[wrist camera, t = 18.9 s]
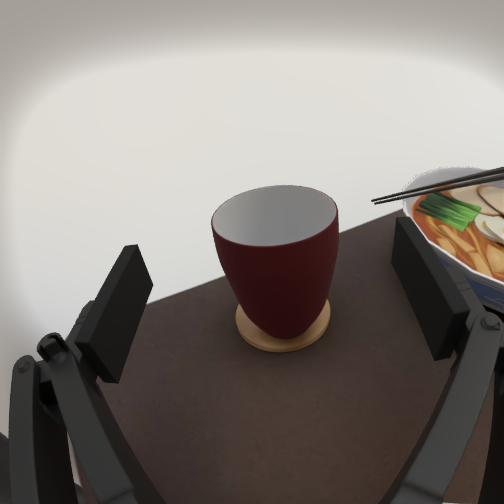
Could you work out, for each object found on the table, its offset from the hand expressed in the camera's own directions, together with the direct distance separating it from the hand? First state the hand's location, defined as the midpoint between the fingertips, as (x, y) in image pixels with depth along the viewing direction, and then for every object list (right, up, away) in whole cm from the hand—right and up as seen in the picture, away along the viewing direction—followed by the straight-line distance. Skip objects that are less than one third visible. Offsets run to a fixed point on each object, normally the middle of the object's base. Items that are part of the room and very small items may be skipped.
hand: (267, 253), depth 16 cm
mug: (+2, -5, +11) cm, 12 cm away
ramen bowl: (+24, -3, +10) cm, 26 cm away
